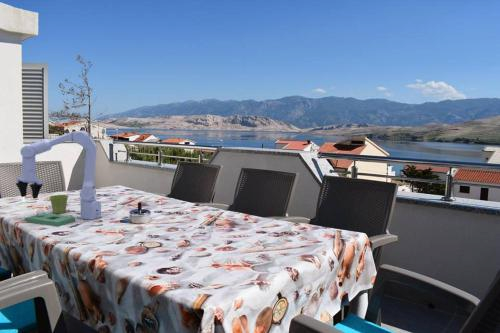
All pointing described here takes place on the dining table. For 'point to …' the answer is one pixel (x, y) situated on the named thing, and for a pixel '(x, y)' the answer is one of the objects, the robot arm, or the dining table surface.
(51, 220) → the putting mat
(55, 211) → the plant pot
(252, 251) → the dining table surface
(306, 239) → the dining table surface
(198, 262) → the dining table surface
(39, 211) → the ball
